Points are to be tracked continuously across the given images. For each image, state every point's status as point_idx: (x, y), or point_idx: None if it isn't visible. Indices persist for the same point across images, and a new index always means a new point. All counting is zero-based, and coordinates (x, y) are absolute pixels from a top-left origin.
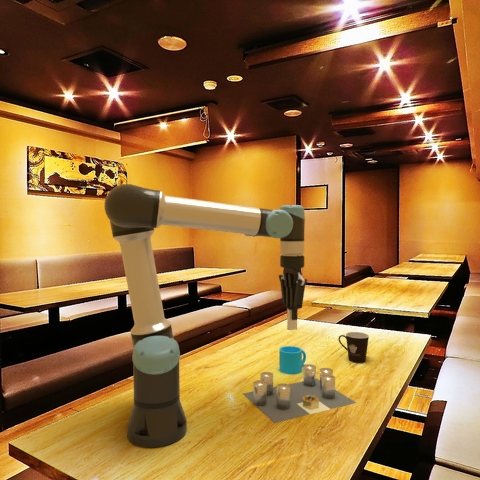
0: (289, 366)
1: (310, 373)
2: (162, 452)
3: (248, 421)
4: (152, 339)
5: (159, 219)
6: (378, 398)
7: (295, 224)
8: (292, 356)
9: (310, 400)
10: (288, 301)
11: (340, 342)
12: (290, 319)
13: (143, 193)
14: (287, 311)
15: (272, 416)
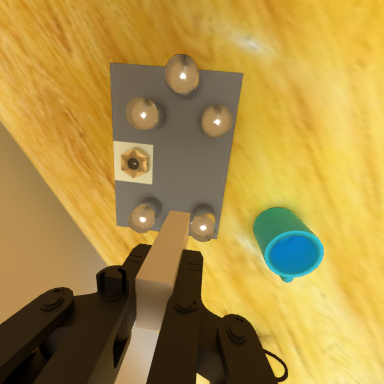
0: (266, 221)
1: (192, 219)
2: None
3: (142, 23)
4: None
5: None
6: (121, 260)
7: None
8: (267, 237)
9: (127, 158)
10: (152, 359)
11: (280, 360)
12: (156, 240)
13: None
14: (172, 268)
15: (131, 74)
